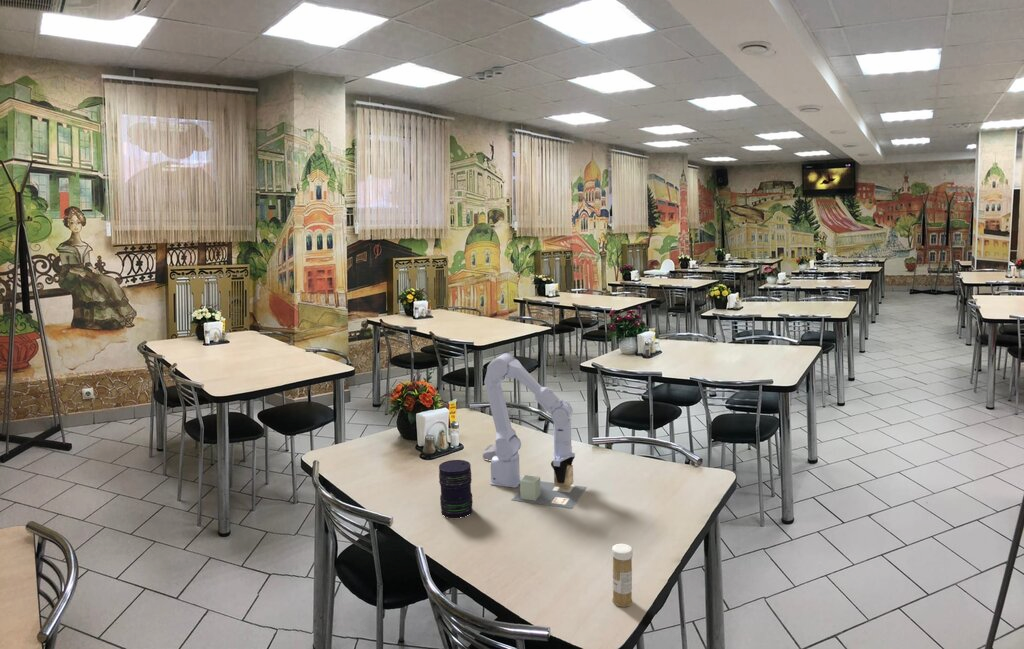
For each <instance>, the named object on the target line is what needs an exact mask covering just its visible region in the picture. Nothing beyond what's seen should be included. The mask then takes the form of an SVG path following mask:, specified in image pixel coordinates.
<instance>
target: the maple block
mask: <svg viewBox="0 0 1024 649" xmlns="http://www.w3.org/2000/svg"><path fill="white" fill-rule="evenodd" d="M553 480H554V481H553V483H554V486H555V487H563V488H570V486H571V485H574V484H573V483H574V465H573V464H572V465H568V467H567V470H566V475H565V481H564V483H558V482H557V478H556V474H555V471H554V470H553Z"/></svg>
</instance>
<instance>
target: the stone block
mask: <svg viewBox="0 0 1024 649" xmlns="http://www.w3.org/2000/svg"><path fill="white" fill-rule="evenodd" d="M495 449H496V443H493V444H489V445H487V447H485V449H484V451H483V452H482V457H483V460H484V459H488V460H492V458H493V457H494V456H497V455H496V453H495Z"/></svg>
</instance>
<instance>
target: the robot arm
mask: <svg viewBox="0 0 1024 649" xmlns="http://www.w3.org/2000/svg"><path fill="white" fill-rule="evenodd" d="M505 378H506V379H516V380H517V381H519V382H520V383H521V384H523V385H524V386H525V387H526V388H527V389H528V390H529V391H530V392H532V393H533V394H534V398H535V399H534V400H535V401H536V402H537V403H538V404H539V405H540V406H541V407H542V408H543V409H544V410H545V411H546V412H548V414H550V417H551V418H550V419H551V421H552V422H553V449H554V450H553V460H552V461H551V463H550V466H551V468H552V469H553V472H554V471H555V474H556V478H557V482H558V483H564V481H565V475H566V470H567V467H568V465H573V462H574V459H575V457H576V453H575V452H573V446H572V425H571V424H572V420H571V417H572V415H573V408H572V406H571V404H570V403H569V402H567V401H564V400H563V399H560V398H559V396H557V395H556V394H555V393H554V390H553V388H549V387H548V386H542V385H540V383H539V382H538V381H537V380H536V379H535V377H533V376H532V374H530V373H529V372H528V371H527V369H526V368H525V367H524V366H523V365H522V364H521V362H520V360H518V359H517V358H515V356H514V355H513V354H511V353H507V352H506V353H505V352H504V353H502V354H501V355H500V356H498V357H495V358H494V359H492V360H491V361H490V362H489V364H488V365H487V366H486V374H485V377H484V381H483V383H484V387H485V391H486V395H487V400H488V402H489V407H490V411H491V416H492V420H493V423H494V424H493V425H494V427H495V431H496V434H495V440H494V441H495V444H496V449H495V453H496V455H497V456H494V457H493V458H492V461H490V481H491V482H490V483H489V484H490V485H491V486H500V487H509V488H512V489H513V488H517V487H518V486H519V485H520V481H521V480H522V478H523V477H520V476H521V471H520V455H519V450H520V449H521V446H522V442H521V440H520V438H519V436H518V435H517V433H516V430H515V429H514V428H513V427H512V423H511V419H510V416H509V413H508V407H507V404H506V400H505V395H504V391H503V388H502V382H503V381H504V379H505Z"/></svg>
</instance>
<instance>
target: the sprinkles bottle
mask: <svg viewBox="0 0 1024 649" xmlns="http://www.w3.org/2000/svg"><path fill="white" fill-rule="evenodd" d="M611 547H612V549H611V555H612V603H613V604H614V605H615V606H616V607H620V608H622V607H623V608H626V606H627V607H630V606H631V605H632V604H633V599H632V598H633V597H632V595H633V594H632V590H633V565H632V561H633V560H632V559H633V548H632V546H631V545H629V544H626V543H617V544H614V545H612V546H611Z"/></svg>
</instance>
